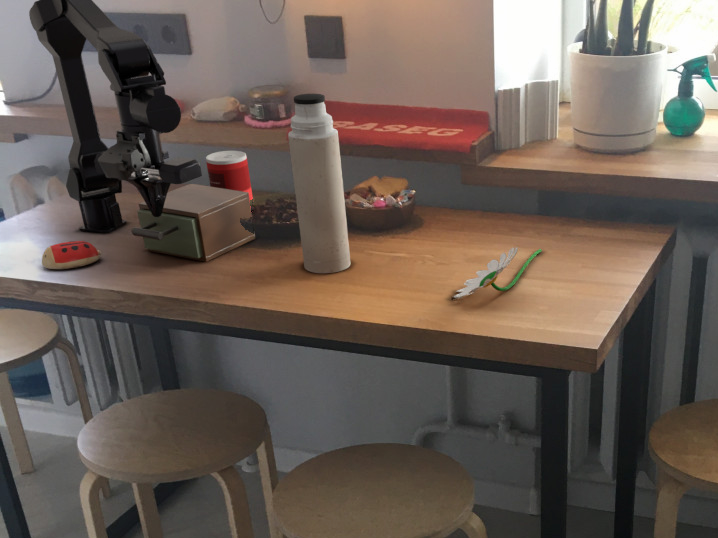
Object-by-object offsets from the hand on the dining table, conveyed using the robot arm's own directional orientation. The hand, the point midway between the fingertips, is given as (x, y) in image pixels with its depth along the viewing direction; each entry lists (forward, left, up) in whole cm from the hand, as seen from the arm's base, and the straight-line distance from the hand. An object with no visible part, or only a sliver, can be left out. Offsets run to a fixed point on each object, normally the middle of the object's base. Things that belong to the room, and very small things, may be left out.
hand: (157, 216), depth 174 cm
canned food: (-2, +28, -8) cm, 30 cm away
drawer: (+1, +5, -7) cm, 9 cm away
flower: (+62, +6, -8) cm, 63 cm away
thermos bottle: (+29, +5, -8) cm, 30 cm away
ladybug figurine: (-15, -6, -8) cm, 18 cm away
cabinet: (+2, +9, -8) cm, 12 cm away
